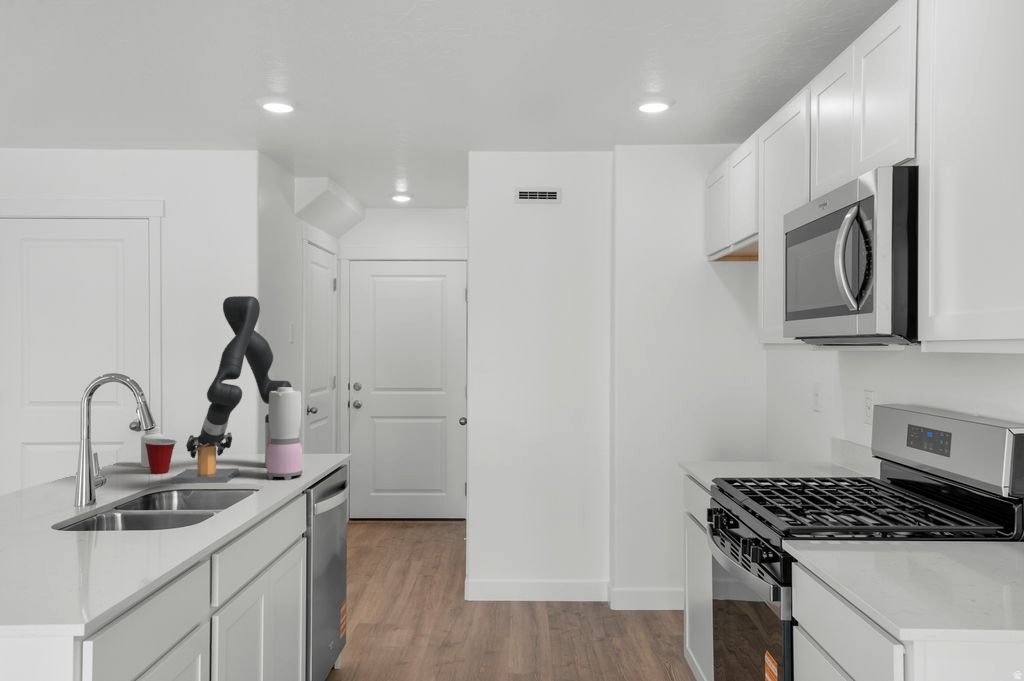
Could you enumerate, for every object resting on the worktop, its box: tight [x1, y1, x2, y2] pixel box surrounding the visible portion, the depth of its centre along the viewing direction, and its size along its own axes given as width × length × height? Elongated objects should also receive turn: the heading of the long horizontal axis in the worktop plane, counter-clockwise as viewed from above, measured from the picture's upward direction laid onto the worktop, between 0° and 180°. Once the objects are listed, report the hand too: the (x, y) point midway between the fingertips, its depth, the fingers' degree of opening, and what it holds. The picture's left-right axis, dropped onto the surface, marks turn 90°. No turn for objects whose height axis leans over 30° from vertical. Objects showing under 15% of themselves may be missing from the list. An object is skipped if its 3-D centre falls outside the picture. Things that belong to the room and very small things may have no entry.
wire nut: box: [196, 444, 217, 475], centre depth 252 cm, size 6×6×10 cm
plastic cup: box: [144, 438, 178, 475], centre depth 262 cm, size 11×11×12 cm
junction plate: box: [171, 467, 240, 485], centre depth 252 cm, size 16×18×6 cm
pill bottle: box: [140, 425, 165, 468], centre depth 276 cm, size 8×8×15 cm
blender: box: [266, 387, 303, 481], centre depth 257 cm, size 16×12×32 cm
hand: (205, 454), depth 253 cm, fingers open, 8 cm apart
